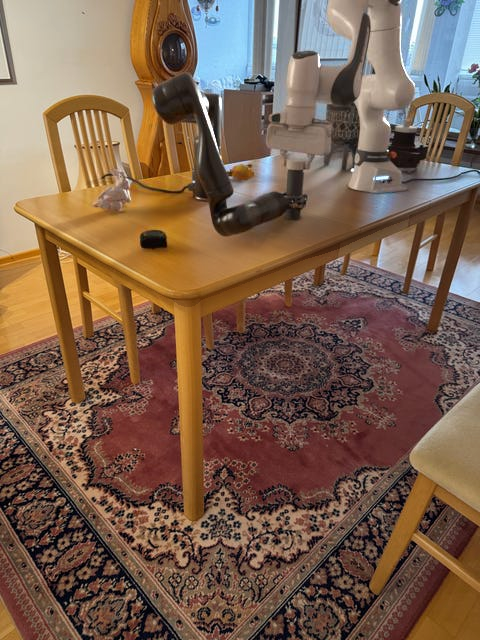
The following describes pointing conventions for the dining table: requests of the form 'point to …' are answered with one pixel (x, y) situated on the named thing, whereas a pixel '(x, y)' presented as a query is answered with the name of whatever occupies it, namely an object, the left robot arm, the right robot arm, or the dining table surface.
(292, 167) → the lid
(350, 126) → the planter
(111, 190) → the figurine
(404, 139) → the mechanical component
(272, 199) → the left robot arm
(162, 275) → the dining table surface
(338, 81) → the right robot arm
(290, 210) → the jar
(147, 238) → the tape measure
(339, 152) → the rock
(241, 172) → the toy
